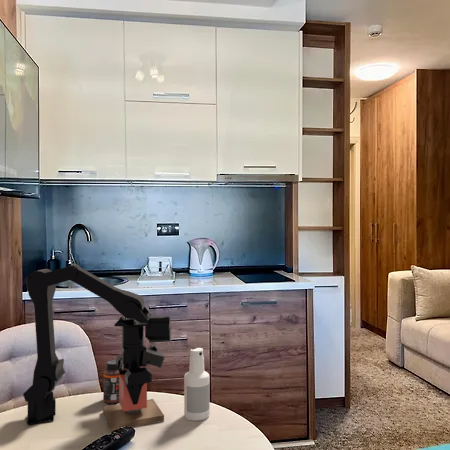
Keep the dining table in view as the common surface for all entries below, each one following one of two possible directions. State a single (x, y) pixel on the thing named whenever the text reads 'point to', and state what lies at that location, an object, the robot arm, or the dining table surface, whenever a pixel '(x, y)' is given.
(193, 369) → the spray bottle
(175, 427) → the dining table surface
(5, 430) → the dining table surface
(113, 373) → the supplement bottle
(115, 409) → the board
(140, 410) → the post
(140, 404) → the salmon foam cube
